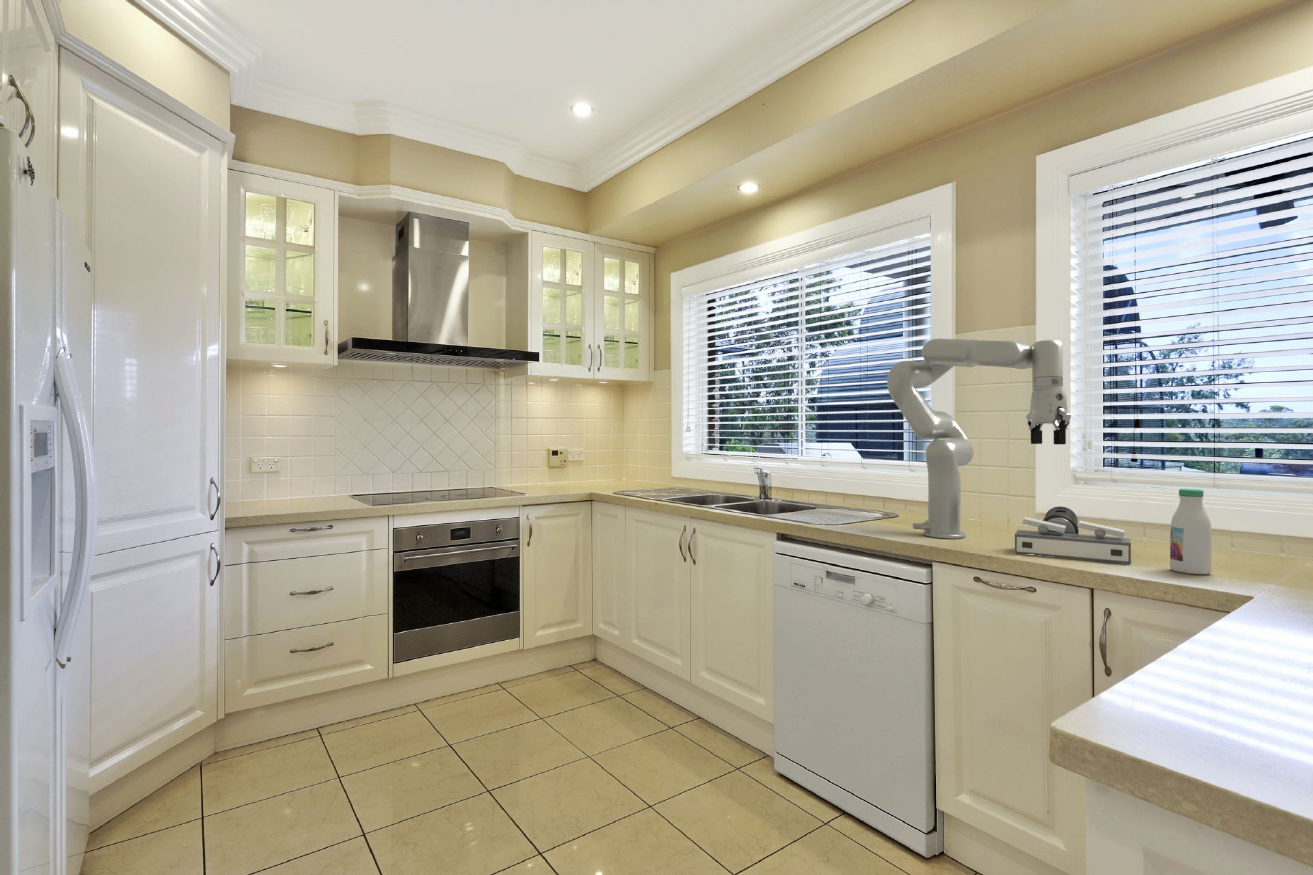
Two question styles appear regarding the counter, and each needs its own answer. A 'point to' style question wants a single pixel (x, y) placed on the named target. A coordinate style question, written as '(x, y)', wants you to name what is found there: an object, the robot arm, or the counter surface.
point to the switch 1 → (1044, 525)
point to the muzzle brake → (1063, 519)
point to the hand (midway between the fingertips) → (1047, 444)
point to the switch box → (1074, 546)
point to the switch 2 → (1101, 529)
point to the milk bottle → (1190, 535)
